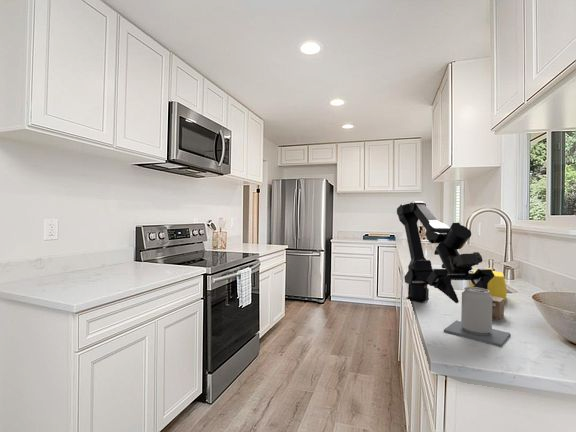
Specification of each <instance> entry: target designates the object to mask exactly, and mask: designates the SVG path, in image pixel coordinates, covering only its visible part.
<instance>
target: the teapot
mask: <svg viewBox="0 0 576 432" xmlns="http://www.w3.org/2000/svg"><path fill="white" fill-rule="evenodd" d="M483 269H491V270H492V272H493V273H494V275H495V276H494V277H493V278H492V279H491V280H490V281H489V282H488V290H489V291H490V292H489V293H490V295H491V296H494V297H500V298H504V303H505V301H506V299H507V283H506V279H505V275H504V273H503V272H501V271H494V269H493V268H491V267H484V268H483ZM476 271H477V269H475V270H474V271H473V273H475V272H476ZM473 286H474V284H473V283H472V282H470V287H473Z"/></svg>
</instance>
